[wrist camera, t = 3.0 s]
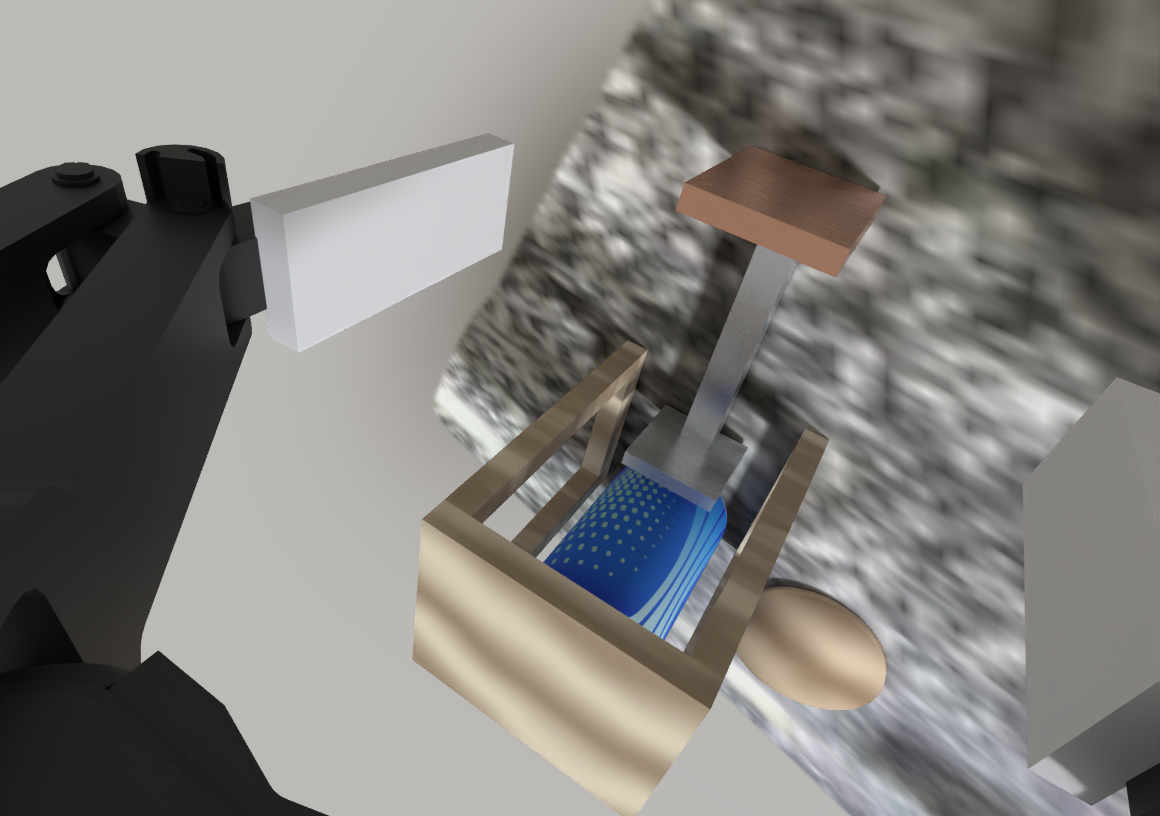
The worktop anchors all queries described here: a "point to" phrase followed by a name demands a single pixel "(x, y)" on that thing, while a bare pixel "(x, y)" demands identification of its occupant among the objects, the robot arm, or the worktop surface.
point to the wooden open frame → (581, 608)
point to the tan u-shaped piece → (749, 299)
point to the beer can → (641, 549)
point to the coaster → (813, 650)
